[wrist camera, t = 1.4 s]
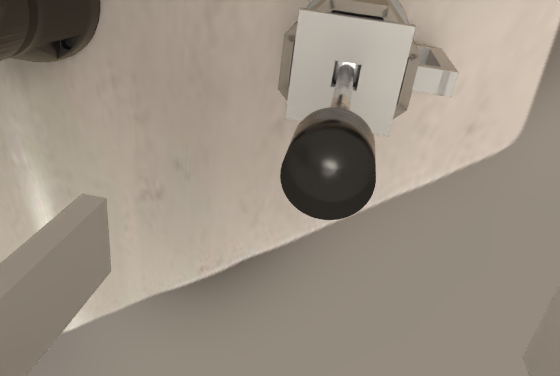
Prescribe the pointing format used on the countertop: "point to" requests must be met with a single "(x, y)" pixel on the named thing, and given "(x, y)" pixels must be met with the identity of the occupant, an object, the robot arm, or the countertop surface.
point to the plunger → (331, 156)
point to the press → (359, 60)
